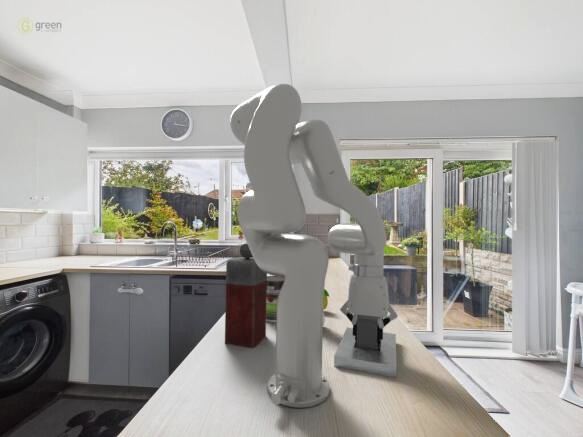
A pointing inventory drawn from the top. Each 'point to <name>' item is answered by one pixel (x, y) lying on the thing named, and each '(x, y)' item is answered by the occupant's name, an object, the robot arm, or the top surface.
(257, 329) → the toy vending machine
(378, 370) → the socket plate
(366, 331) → the plug
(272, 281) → the coffee can
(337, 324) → the top surface
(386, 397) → the top surface
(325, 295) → the lemon
